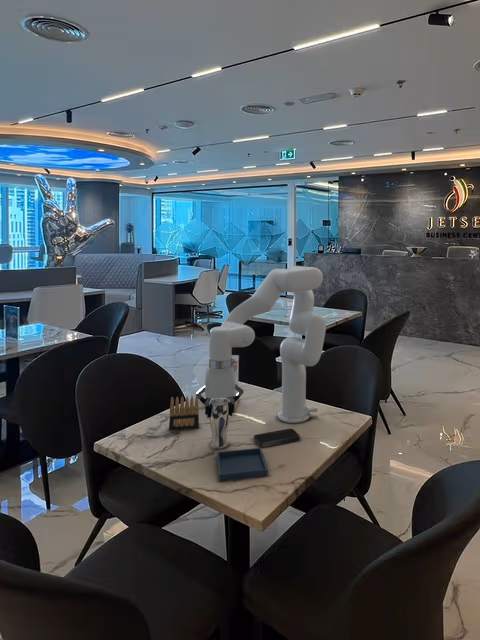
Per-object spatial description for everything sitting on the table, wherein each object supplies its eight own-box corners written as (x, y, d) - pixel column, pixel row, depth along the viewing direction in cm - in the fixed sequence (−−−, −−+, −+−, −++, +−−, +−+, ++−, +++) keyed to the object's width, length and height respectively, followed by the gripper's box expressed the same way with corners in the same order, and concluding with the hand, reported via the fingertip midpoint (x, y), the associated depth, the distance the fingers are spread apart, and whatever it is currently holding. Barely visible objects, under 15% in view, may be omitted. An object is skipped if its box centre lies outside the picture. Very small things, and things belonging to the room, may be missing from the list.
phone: (300, 436, 154) (260, 444, 148) (300, 440, 154) (260, 447, 148) (292, 427, 161) (253, 434, 155) (292, 431, 161) (253, 437, 155)
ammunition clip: (198, 426, 165) (199, 394, 165) (198, 428, 163) (199, 395, 163) (169, 428, 162) (169, 396, 162) (168, 430, 160) (169, 397, 160)
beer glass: (231, 440, 153) (232, 397, 153) (226, 450, 146) (227, 405, 146) (212, 439, 154) (213, 396, 154) (206, 449, 147) (206, 404, 147)
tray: (260, 453, 144) (261, 447, 144) (267, 475, 130) (267, 469, 130) (217, 457, 141) (217, 451, 141) (219, 481, 127) (219, 475, 127)
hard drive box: (234, 414, 176) (234, 364, 176) (214, 414, 176) (215, 364, 176) (238, 400, 192) (239, 354, 192) (220, 400, 192) (221, 354, 192)
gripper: (244, 359, 156) (243, 409, 156) (194, 361, 151) (193, 413, 151) (247, 365, 148) (246, 417, 148) (194, 368, 144) (193, 422, 144)
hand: (219, 415), depth 150 cm, fingers closed on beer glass, 7 cm apart
